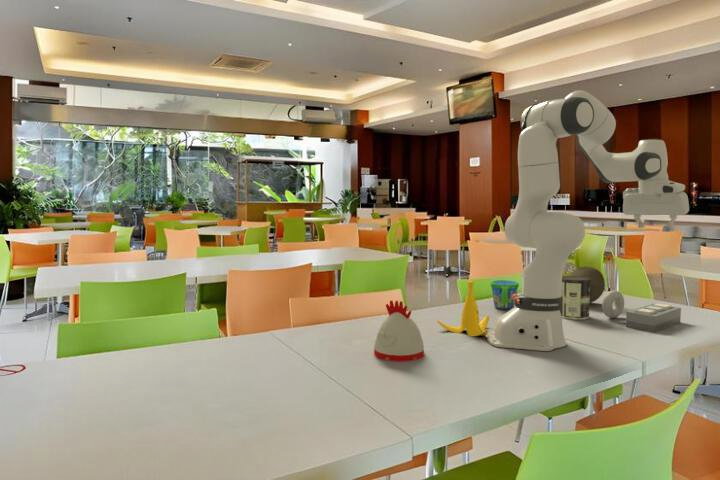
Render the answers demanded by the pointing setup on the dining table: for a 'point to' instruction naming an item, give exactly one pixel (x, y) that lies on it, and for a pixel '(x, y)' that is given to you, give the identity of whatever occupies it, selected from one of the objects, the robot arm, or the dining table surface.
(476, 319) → the banana peel
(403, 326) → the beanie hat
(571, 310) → the coffee can
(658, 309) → the key mid
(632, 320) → the keypad
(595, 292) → the coconut
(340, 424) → the dining table surface
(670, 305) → the key far
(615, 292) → the donut
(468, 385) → the dining table surface
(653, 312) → the key near
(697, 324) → the dining table surface
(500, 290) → the snack cup
